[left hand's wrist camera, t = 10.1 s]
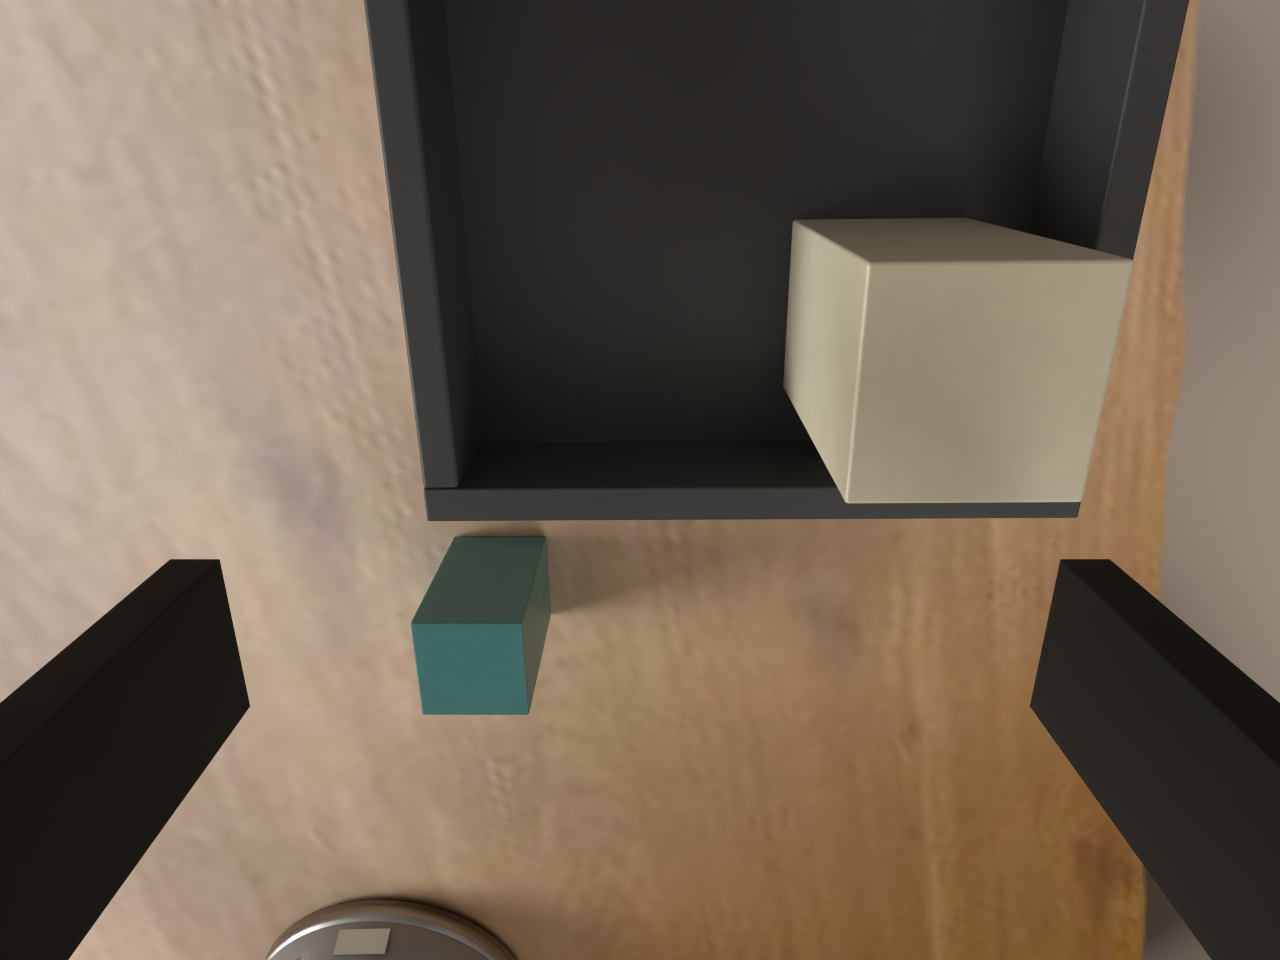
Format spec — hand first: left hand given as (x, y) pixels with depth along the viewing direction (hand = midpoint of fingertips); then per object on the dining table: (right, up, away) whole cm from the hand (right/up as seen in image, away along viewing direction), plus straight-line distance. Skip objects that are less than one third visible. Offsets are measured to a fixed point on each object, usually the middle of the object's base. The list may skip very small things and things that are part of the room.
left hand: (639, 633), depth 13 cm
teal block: (-6, -2, +23) cm, 24 cm away
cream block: (+6, +7, +6) cm, 11 cm away
